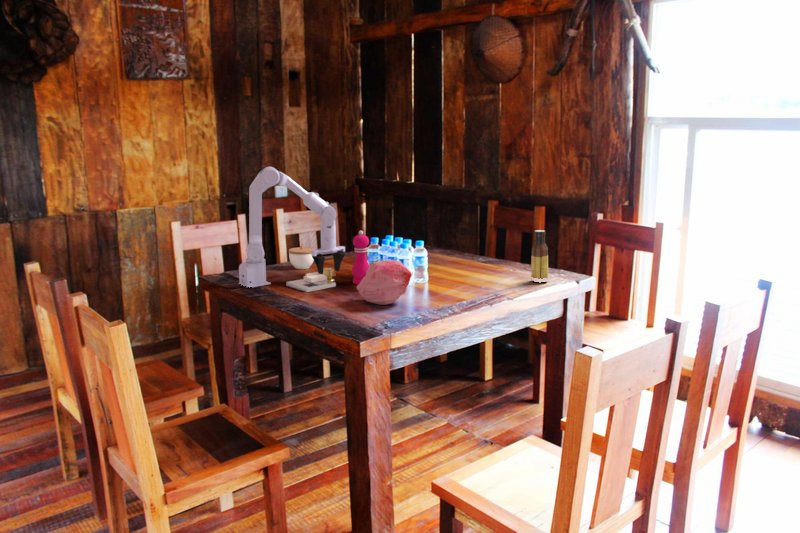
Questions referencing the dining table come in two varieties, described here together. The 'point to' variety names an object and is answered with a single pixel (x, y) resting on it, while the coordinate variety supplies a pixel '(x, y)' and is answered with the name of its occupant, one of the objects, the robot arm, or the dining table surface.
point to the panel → (310, 285)
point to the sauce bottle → (539, 256)
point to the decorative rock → (384, 282)
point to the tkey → (329, 273)
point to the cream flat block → (314, 277)
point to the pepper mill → (360, 257)
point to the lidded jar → (301, 257)
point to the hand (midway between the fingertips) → (328, 272)
